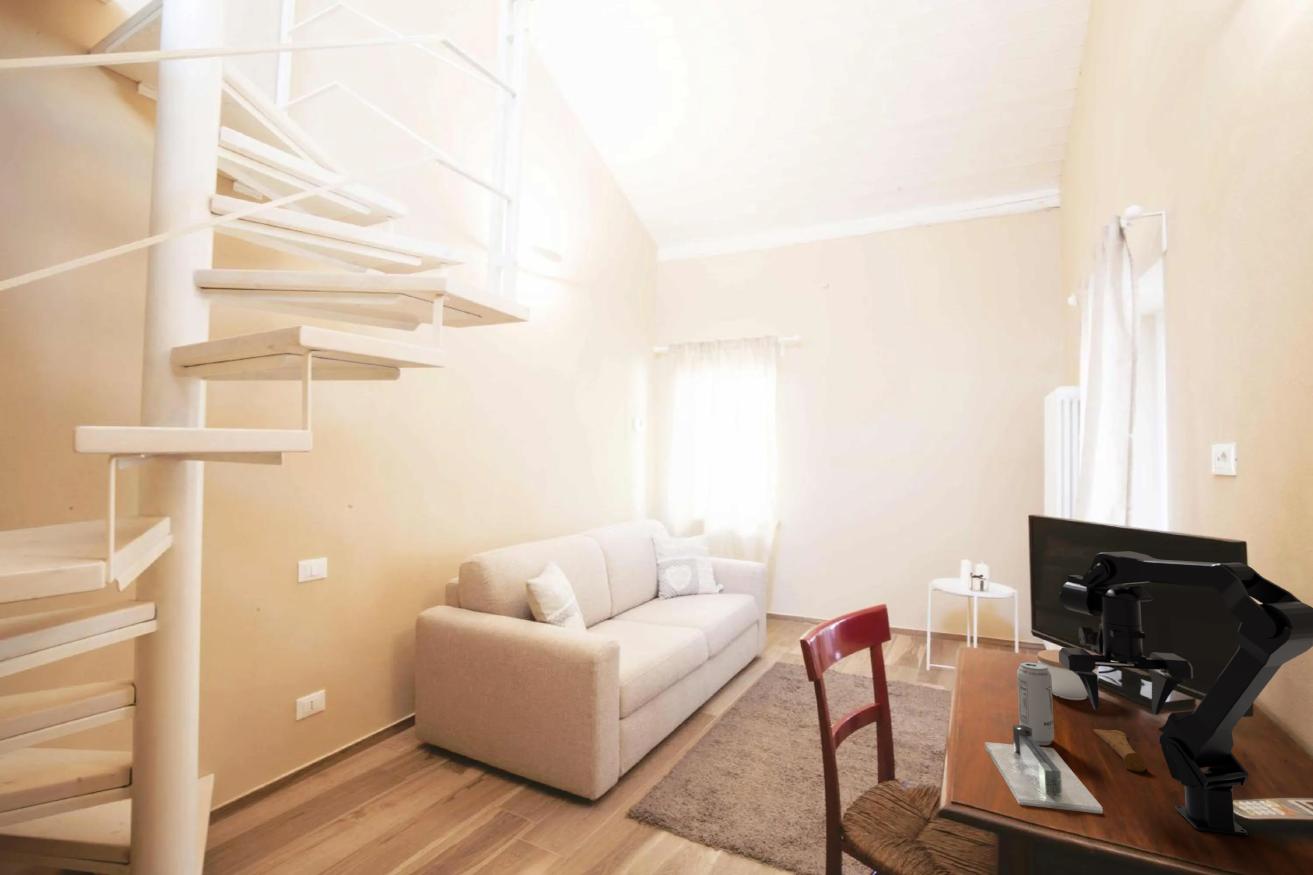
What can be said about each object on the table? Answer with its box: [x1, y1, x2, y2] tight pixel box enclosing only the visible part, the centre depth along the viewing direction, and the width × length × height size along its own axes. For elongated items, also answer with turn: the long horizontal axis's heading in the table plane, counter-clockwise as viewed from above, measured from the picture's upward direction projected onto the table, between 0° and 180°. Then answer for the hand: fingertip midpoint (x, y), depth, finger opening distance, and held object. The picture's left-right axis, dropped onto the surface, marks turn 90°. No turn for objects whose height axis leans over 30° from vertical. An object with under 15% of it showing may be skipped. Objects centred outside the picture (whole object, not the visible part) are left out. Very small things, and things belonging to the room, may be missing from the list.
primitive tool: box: [1093, 728, 1148, 773], centre depth 123 cm, size 19×6×4 cm, turn 160°
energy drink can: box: [1016, 661, 1055, 746], centre depth 128 cm, size 6×6×15 cm
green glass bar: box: [1026, 735, 1062, 793], centre depth 112 cm, size 14×1×4 cm, turn 166°
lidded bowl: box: [1037, 649, 1100, 701], centre depth 153 cm, size 13×13×11 cm
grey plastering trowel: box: [984, 724, 1103, 814], centre depth 113 cm, size 22×12×5 cm, turn 166°
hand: (1125, 711), depth 112 cm, fingers open, 9 cm apart
